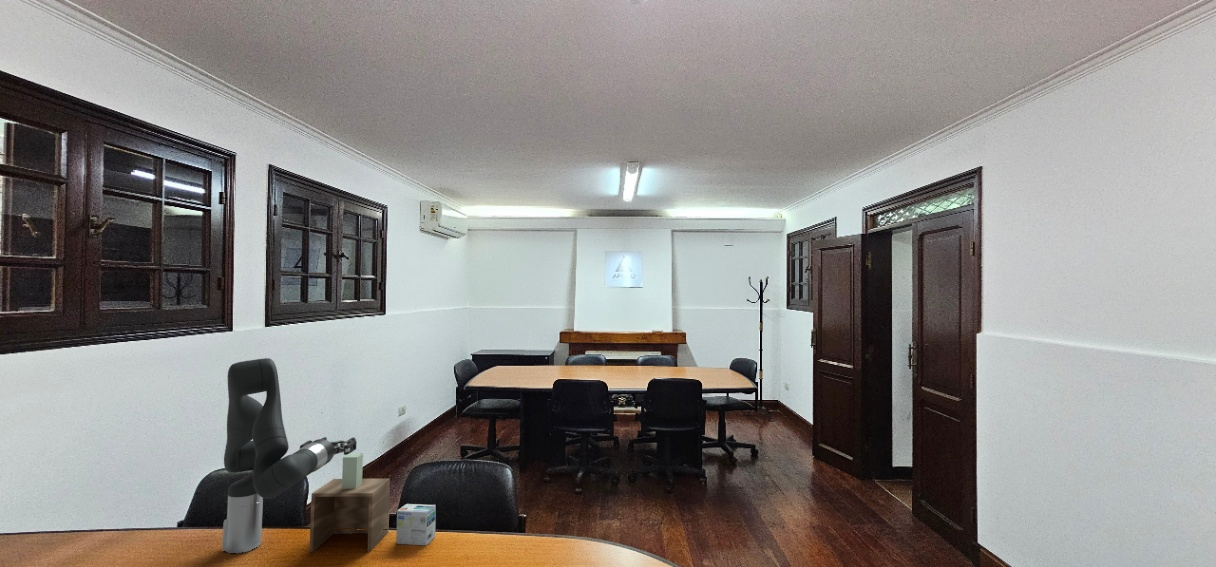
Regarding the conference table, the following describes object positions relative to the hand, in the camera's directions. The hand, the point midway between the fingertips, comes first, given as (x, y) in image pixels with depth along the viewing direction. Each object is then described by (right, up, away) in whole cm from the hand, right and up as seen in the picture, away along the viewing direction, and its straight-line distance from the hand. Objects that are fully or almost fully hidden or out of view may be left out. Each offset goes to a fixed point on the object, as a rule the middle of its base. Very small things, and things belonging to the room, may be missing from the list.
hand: (339, 440), depth 158 cm
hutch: (-1, -36, +9) cm, 37 cm away
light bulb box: (+20, -36, +10) cm, 43 cm away
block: (-1, -18, +9) cm, 20 cm away
